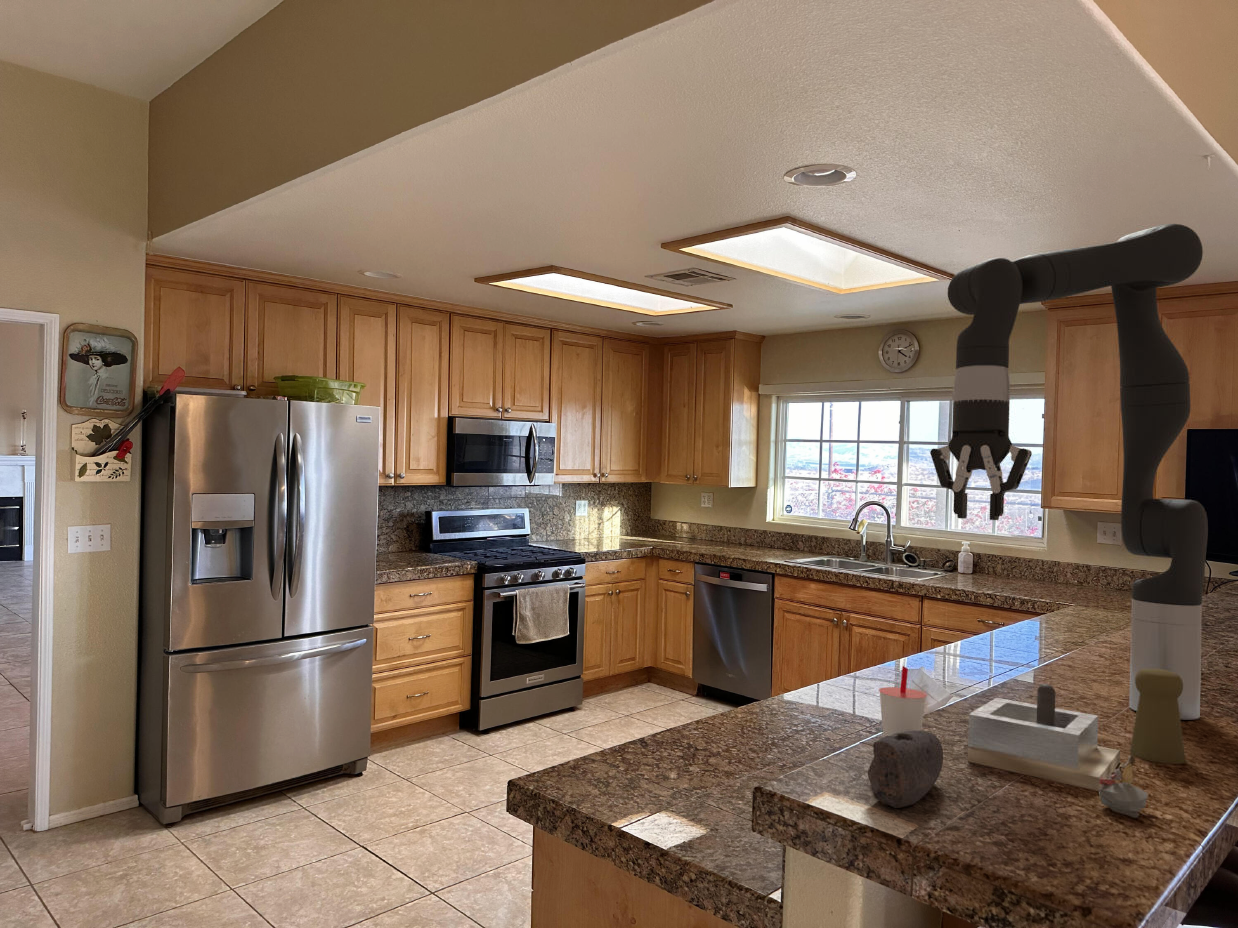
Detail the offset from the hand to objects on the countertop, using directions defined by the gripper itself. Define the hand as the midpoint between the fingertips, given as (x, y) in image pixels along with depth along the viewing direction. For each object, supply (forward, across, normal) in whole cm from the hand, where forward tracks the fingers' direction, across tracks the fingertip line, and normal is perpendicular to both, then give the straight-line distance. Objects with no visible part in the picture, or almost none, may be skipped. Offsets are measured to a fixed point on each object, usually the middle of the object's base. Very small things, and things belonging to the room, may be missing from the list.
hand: (977, 518), depth 121 cm
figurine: (+30, -22, +24) cm, 44 cm away
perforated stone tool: (+30, -4, +36) cm, 47 cm away
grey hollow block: (+28, -11, +12) cm, 32 cm away
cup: (+29, 0, +28) cm, 41 cm away
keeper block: (+29, -12, +12) cm, 34 cm away
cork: (+29, -22, -2) cm, 37 cm away
